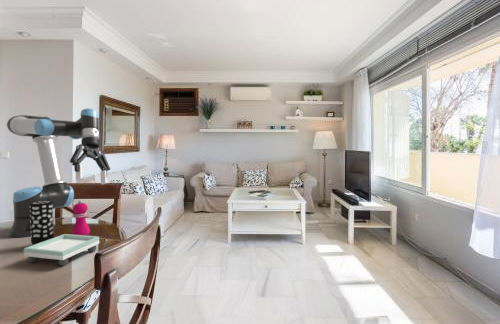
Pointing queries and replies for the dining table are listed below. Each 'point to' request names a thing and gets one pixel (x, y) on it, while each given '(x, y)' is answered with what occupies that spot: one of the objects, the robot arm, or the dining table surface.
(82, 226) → the pepper mill
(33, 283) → the dining table surface
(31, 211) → the white-spotted black cylinder
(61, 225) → the dining table surface
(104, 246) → the dining table surface
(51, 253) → the rolling base
